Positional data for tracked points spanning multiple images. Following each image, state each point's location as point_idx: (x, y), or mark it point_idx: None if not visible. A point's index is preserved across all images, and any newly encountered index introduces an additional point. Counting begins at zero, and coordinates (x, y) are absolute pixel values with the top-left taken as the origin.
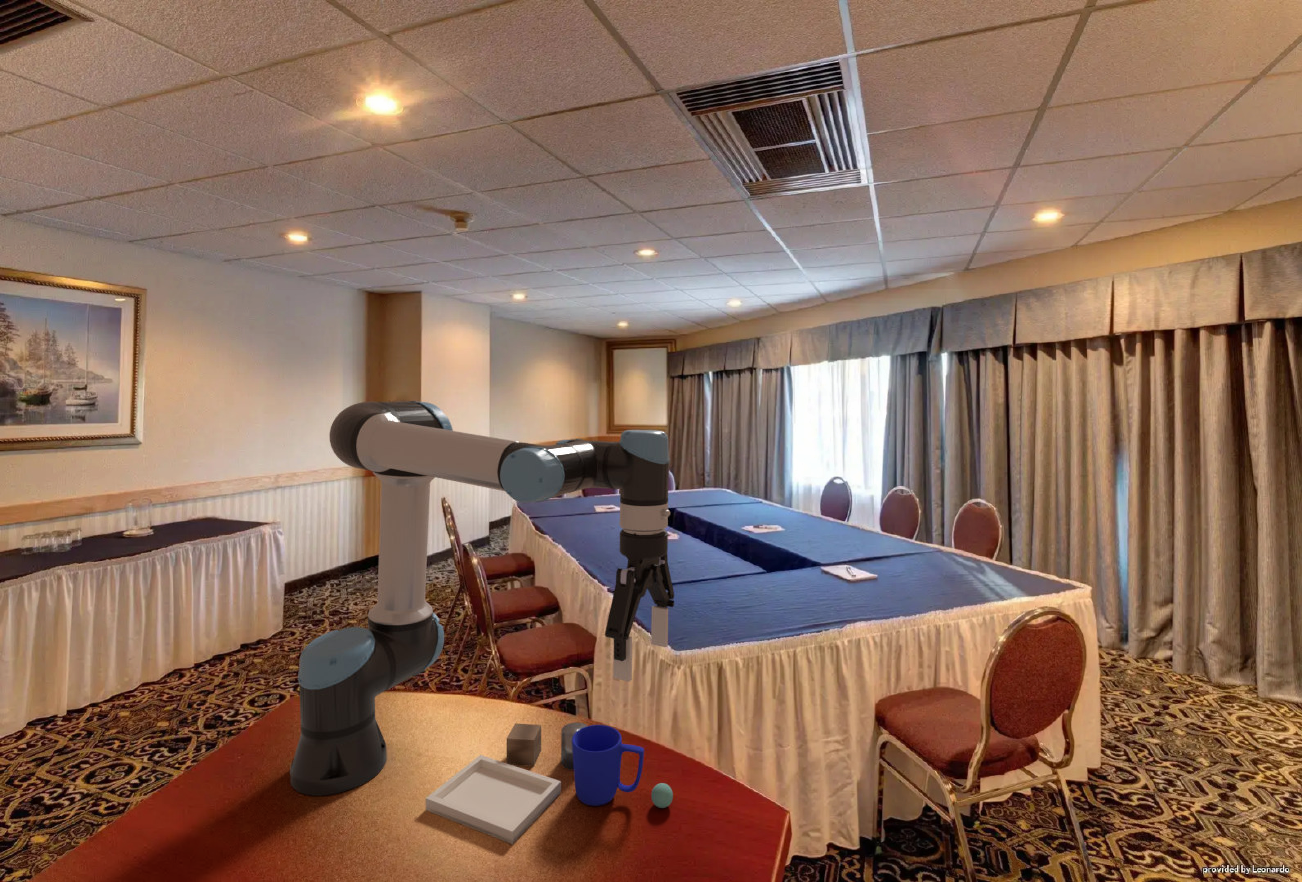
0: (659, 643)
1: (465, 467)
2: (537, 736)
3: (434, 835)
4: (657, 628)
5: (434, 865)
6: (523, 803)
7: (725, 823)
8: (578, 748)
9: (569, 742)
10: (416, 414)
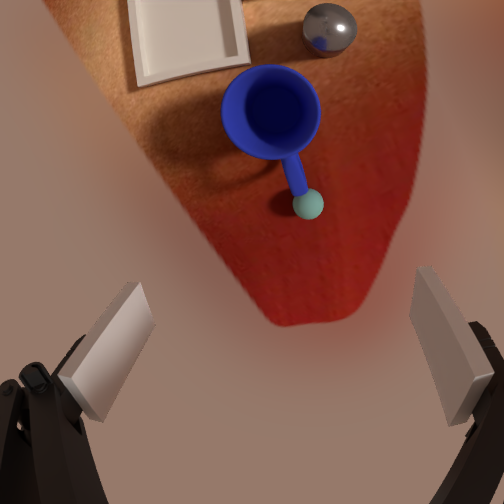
0: (416, 300)
1: None
2: None
3: (111, 15)
4: (433, 330)
5: (86, 54)
6: (197, 45)
7: (316, 276)
8: (221, 104)
9: (304, 32)
10: None
